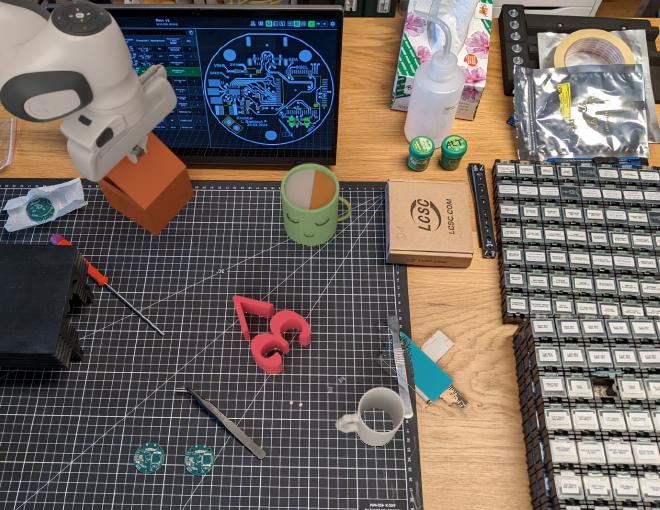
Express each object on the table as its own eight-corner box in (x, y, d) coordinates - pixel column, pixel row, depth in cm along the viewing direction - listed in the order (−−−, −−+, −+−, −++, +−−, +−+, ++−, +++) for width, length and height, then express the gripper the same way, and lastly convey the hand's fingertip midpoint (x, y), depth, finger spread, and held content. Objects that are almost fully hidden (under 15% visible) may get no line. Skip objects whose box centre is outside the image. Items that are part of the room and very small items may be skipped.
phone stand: (490, 379, 104) (493, 376, 103) (443, 428, 100) (445, 426, 99) (403, 299, 111) (404, 295, 109) (356, 343, 107) (356, 339, 105)
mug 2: (391, 404, 102) (399, 383, 91) (399, 445, 99) (409, 429, 88) (330, 413, 101) (332, 394, 90) (337, 455, 98) (340, 441, 87)
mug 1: (279, 244, 115) (276, 210, 105) (288, 197, 120) (285, 160, 109) (347, 252, 115) (350, 219, 104) (352, 204, 120) (356, 168, 109)
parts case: (110, 206, 118) (95, 180, 111) (149, 167, 123) (138, 139, 115) (156, 236, 116) (145, 211, 108) (194, 195, 120) (186, 168, 112)
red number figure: (216, 326, 108) (211, 315, 103) (258, 287, 111) (256, 275, 107) (273, 381, 103) (271, 372, 99) (315, 339, 107) (315, 329, 102)
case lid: (87, 158, 104) (92, 152, 100) (133, 115, 108) (139, 108, 104) (143, 210, 108) (150, 206, 104) (185, 167, 112) (193, 162, 108)
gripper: (145, 50, 98) (164, 109, 110) (50, 134, 90) (82, 188, 102) (176, 67, 96) (192, 125, 109) (82, 154, 88) (110, 206, 100)
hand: (138, 156), depth 105 cm, fingers closed
